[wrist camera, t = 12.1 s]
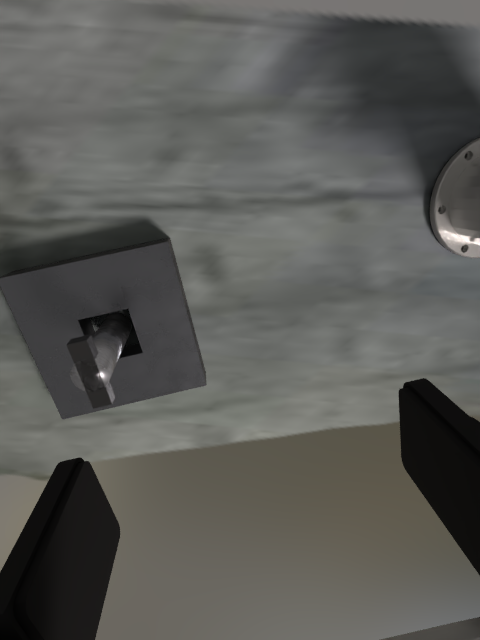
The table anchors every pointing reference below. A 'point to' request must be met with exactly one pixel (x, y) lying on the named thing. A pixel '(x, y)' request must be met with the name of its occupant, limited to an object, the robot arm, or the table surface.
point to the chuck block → (101, 298)
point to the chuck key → (99, 358)
